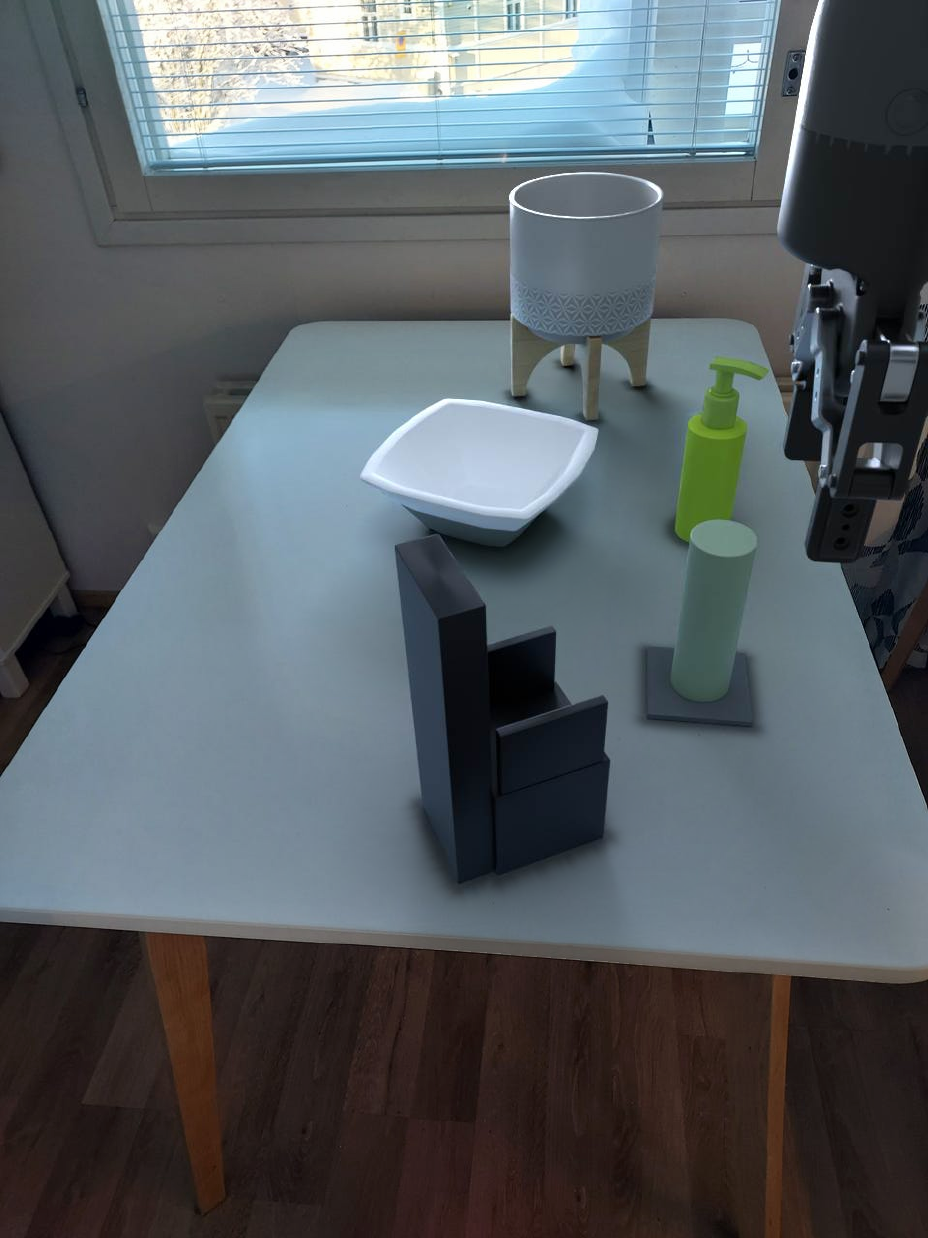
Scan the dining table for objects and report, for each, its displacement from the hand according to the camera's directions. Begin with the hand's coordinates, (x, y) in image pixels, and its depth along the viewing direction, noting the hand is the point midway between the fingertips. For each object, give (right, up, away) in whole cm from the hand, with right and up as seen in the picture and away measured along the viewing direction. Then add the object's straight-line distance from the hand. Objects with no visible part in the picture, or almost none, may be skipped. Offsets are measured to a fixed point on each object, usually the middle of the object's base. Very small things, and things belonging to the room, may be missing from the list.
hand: (816, 503), depth 43 cm
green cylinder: (+5, -11, +41) cm, 43 cm away
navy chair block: (-13, -21, +31) cm, 40 cm away
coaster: (+5, -12, +42) cm, 44 cm away
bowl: (-14, +6, +65) cm, 67 cm away
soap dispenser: (+11, +4, +61) cm, 62 cm away
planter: (0, +27, +88) cm, 92 cm away
